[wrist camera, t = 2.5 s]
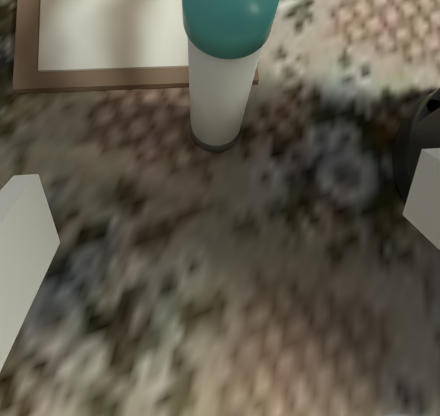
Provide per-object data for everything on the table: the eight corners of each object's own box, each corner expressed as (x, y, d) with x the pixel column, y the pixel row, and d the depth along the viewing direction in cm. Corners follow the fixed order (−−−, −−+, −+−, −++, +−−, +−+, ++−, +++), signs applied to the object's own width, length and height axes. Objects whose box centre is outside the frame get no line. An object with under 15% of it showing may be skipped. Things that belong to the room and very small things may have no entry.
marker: (238, 104, 30) (274, -54, 16) (243, 152, 29) (286, 27, 15) (186, 106, 29) (178, -54, 16) (190, 155, 28) (184, 30, 15)
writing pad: (239, -64, 34) (240, -72, 33) (257, 84, 30) (259, 78, 29) (24, -63, 32) (20, -72, 31) (16, 93, 29) (11, 87, 28)
